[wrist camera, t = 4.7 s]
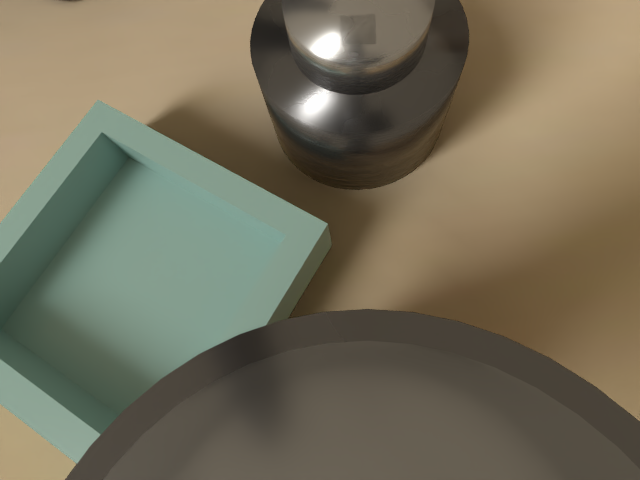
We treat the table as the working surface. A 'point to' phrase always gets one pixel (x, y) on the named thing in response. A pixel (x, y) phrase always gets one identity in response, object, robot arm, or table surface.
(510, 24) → the table surface
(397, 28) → the calibration weight
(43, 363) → the tray
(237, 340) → the grey cylindrical piece
